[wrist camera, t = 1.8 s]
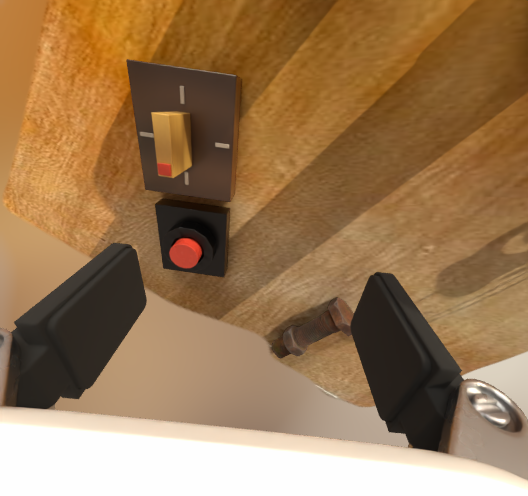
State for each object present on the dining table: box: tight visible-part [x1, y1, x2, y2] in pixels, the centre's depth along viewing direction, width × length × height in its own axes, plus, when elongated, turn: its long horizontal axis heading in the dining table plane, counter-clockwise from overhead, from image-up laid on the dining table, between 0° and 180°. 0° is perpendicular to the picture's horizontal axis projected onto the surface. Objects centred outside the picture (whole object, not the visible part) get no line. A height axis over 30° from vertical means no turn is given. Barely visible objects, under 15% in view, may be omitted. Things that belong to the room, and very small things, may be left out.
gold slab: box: [151, 111, 192, 178], centre depth 22 cm, size 5×1×5 cm, turn 173°
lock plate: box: [127, 59, 242, 202], centre depth 25 cm, size 12×10×3 cm
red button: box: [169, 237, 202, 268], centre depth 30 cm, size 4×4×2 cm
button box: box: [155, 199, 230, 277], centre depth 32 cm, size 10×9×4 cm
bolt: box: [272, 298, 354, 358], centre depth 39 cm, size 6×5×15 cm
